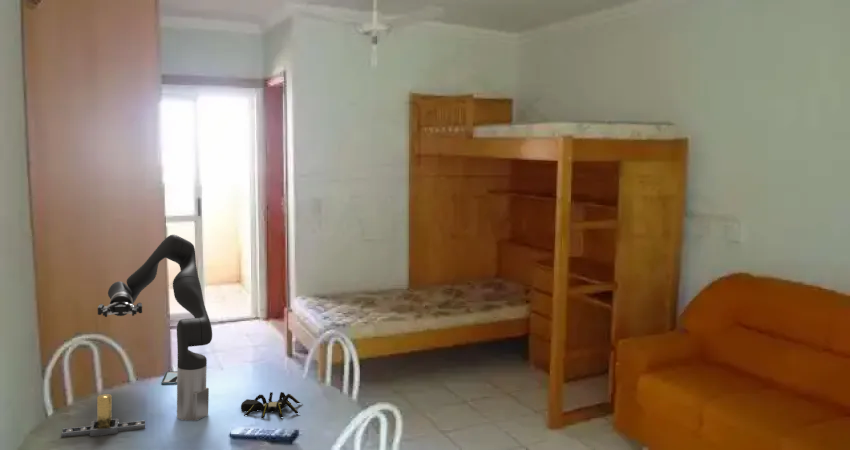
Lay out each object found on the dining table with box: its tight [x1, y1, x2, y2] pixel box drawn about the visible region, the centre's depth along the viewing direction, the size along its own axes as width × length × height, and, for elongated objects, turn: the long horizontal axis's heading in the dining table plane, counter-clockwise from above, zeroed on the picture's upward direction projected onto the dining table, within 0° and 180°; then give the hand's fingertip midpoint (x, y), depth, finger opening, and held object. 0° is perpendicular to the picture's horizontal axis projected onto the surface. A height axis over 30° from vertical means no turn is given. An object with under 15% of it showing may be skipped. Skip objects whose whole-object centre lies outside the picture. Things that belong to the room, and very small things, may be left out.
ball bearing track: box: [60, 418, 146, 438], centre depth 209 cm, size 24×8×2 cm, turn 113°
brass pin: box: [96, 393, 113, 429], centre depth 209 cm, size 4×4×11 cm
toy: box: [240, 391, 301, 419], centre depth 233 cm, size 18×21×5 cm
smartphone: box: [160, 370, 177, 386], centre depth 260 cm, size 7×1×15 cm
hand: (119, 313), depth 229 cm, fingers open, 8 cm apart
